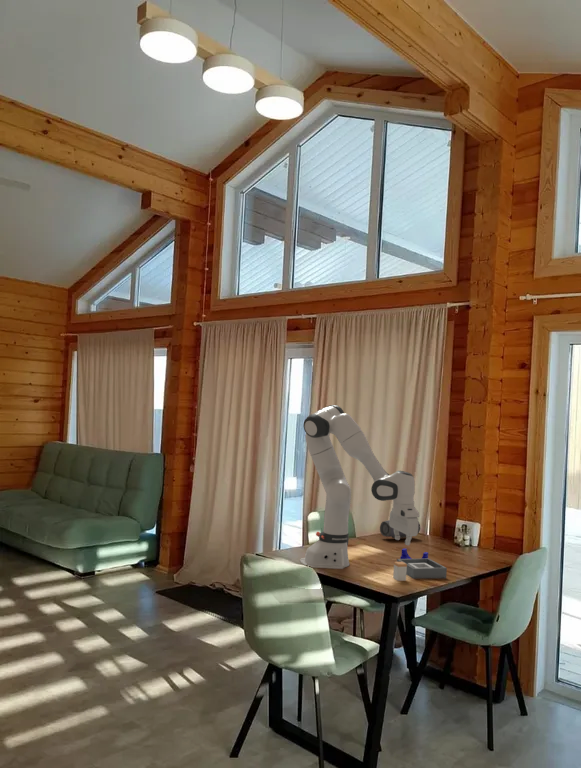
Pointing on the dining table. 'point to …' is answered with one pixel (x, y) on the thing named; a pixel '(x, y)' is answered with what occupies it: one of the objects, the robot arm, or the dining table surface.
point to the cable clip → (406, 556)
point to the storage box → (424, 568)
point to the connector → (400, 571)
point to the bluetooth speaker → (392, 530)
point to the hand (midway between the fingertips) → (402, 542)
